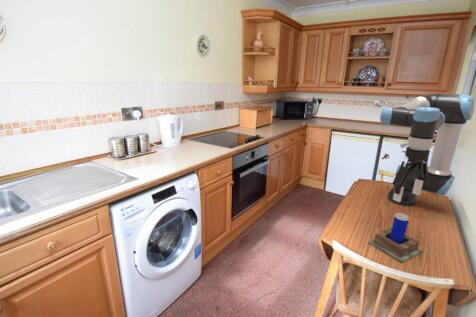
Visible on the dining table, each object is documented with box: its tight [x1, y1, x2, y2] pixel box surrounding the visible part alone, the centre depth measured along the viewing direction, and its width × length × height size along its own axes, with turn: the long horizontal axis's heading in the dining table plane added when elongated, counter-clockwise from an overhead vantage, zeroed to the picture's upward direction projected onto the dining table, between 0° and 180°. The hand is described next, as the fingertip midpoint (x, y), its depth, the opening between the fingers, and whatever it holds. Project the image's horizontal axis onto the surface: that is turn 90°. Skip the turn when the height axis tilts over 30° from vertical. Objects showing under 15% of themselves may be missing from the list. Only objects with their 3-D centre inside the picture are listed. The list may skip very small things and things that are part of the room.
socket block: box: [368, 227, 424, 264], centre depth 110 cm, size 15×15×5 cm
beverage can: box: [389, 212, 410, 244], centre depth 108 cm, size 5×5×15 cm
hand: (406, 197), depth 103 cm, fingers open, 13 cm apart
